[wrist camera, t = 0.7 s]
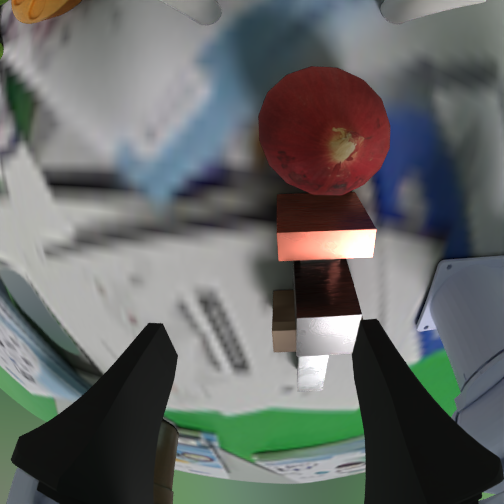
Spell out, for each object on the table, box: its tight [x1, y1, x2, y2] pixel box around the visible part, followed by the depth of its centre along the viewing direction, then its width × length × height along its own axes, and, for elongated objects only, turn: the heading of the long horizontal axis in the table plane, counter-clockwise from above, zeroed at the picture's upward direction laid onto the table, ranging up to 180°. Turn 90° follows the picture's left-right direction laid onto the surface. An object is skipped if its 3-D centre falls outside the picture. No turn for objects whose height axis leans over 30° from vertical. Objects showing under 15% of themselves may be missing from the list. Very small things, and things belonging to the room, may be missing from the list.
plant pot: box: [153, 420, 179, 504], centre depth 36 cm, size 16×16×16 cm
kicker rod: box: [277, 192, 376, 391], centre depth 20 cm, size 5×19×7 cm, turn 6°
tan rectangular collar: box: [272, 290, 363, 352], centre depth 20 cm, size 6×2×4 cm, turn 96°
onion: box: [258, 66, 390, 195], centre depth 11 cm, size 6×6×8 cm
